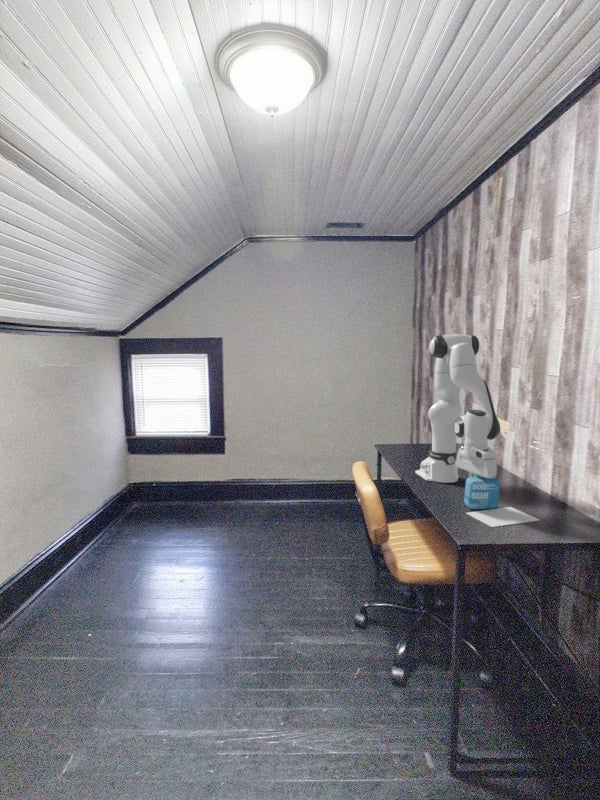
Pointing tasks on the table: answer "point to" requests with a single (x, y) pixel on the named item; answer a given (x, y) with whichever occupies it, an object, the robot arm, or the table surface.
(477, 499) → the data package
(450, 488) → the table surface
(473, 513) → the mat
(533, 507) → the table surface
